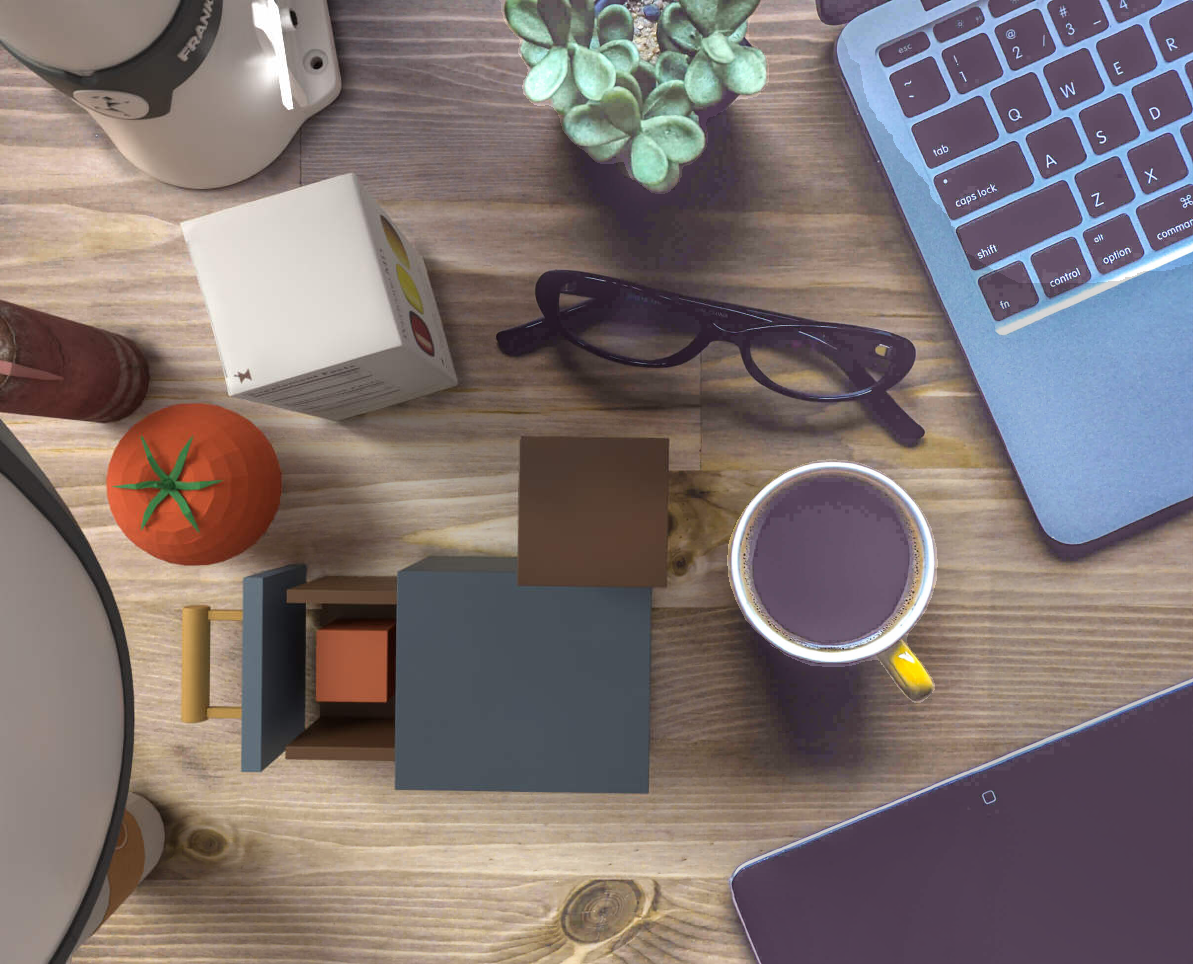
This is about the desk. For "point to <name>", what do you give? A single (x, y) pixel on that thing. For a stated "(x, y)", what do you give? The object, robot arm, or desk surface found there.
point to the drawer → (289, 669)
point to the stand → (593, 511)
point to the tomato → (194, 484)
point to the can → (67, 368)
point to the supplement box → (319, 302)
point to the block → (356, 660)
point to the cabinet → (519, 682)
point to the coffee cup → (128, 860)
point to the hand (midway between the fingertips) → (54, 805)
